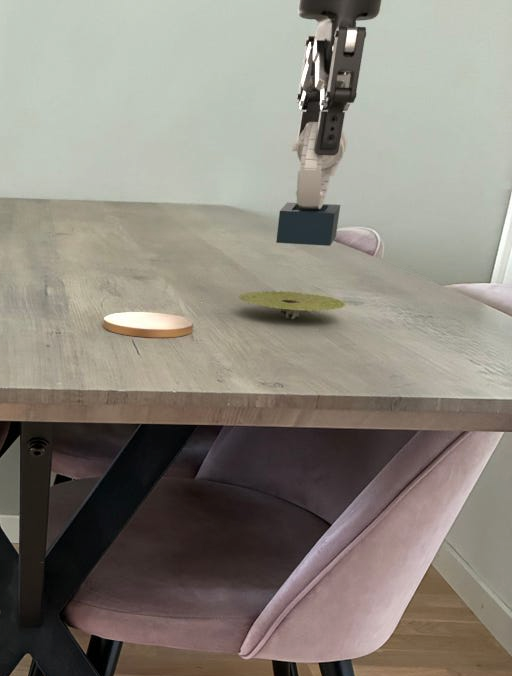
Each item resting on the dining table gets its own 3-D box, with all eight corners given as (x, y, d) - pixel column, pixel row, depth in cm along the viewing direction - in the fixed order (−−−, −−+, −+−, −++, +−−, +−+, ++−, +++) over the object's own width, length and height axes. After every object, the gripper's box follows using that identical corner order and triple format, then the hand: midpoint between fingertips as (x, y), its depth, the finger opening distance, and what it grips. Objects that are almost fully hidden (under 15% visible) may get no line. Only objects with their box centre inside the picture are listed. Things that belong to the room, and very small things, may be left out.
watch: (338, 232, 103) (355, 117, 97) (327, 249, 97) (344, 128, 90) (285, 229, 105) (298, 116, 98) (272, 246, 99) (285, 127, 92)
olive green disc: (348, 331, 98) (351, 311, 97) (238, 324, 100) (240, 304, 99) (335, 312, 108) (338, 294, 107) (235, 305, 109) (237, 288, 108)
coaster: (187, 321, 100) (188, 313, 100) (197, 339, 92) (198, 331, 92) (102, 318, 100) (102, 310, 100) (104, 335, 92) (105, 327, 92)
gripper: (411, -53, 82) (372, 158, 90) (366, -32, 94) (335, 152, 102) (323, -56, 82) (292, 155, 90) (290, -34, 94) (265, 150, 102)
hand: (315, 153), depth 96 cm, fingers closed on watch, 8 cm apart
